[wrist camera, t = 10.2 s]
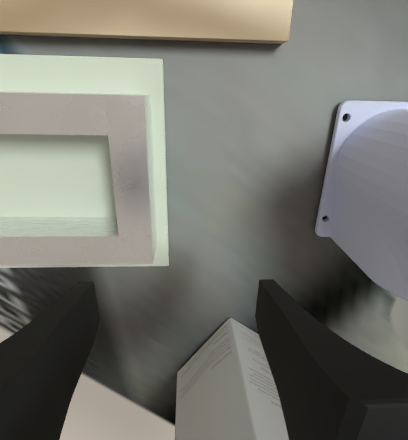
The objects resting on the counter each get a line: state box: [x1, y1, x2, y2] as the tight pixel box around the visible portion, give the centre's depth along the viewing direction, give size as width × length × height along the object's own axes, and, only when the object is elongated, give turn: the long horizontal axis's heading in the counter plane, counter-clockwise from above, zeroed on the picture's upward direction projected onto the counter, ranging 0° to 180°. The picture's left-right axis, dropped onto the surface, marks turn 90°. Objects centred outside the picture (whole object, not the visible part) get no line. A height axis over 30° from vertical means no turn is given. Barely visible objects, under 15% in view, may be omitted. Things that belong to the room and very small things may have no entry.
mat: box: [0, 54, 169, 268], centre depth 20 cm, size 14×14×1 cm
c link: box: [0, 91, 157, 265], centre depth 18 cm, size 10×12×3 cm
